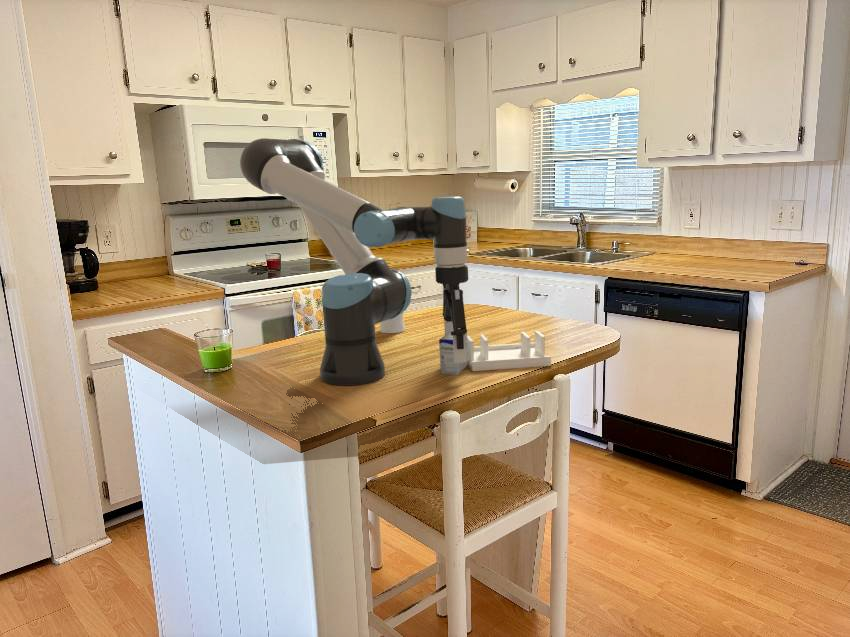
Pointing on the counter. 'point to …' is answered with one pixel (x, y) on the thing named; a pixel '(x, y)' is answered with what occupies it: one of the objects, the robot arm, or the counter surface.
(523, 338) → the rack
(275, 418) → the counter surface
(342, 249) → the robot arm
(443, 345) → the box
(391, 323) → the cup
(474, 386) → the counter surface
